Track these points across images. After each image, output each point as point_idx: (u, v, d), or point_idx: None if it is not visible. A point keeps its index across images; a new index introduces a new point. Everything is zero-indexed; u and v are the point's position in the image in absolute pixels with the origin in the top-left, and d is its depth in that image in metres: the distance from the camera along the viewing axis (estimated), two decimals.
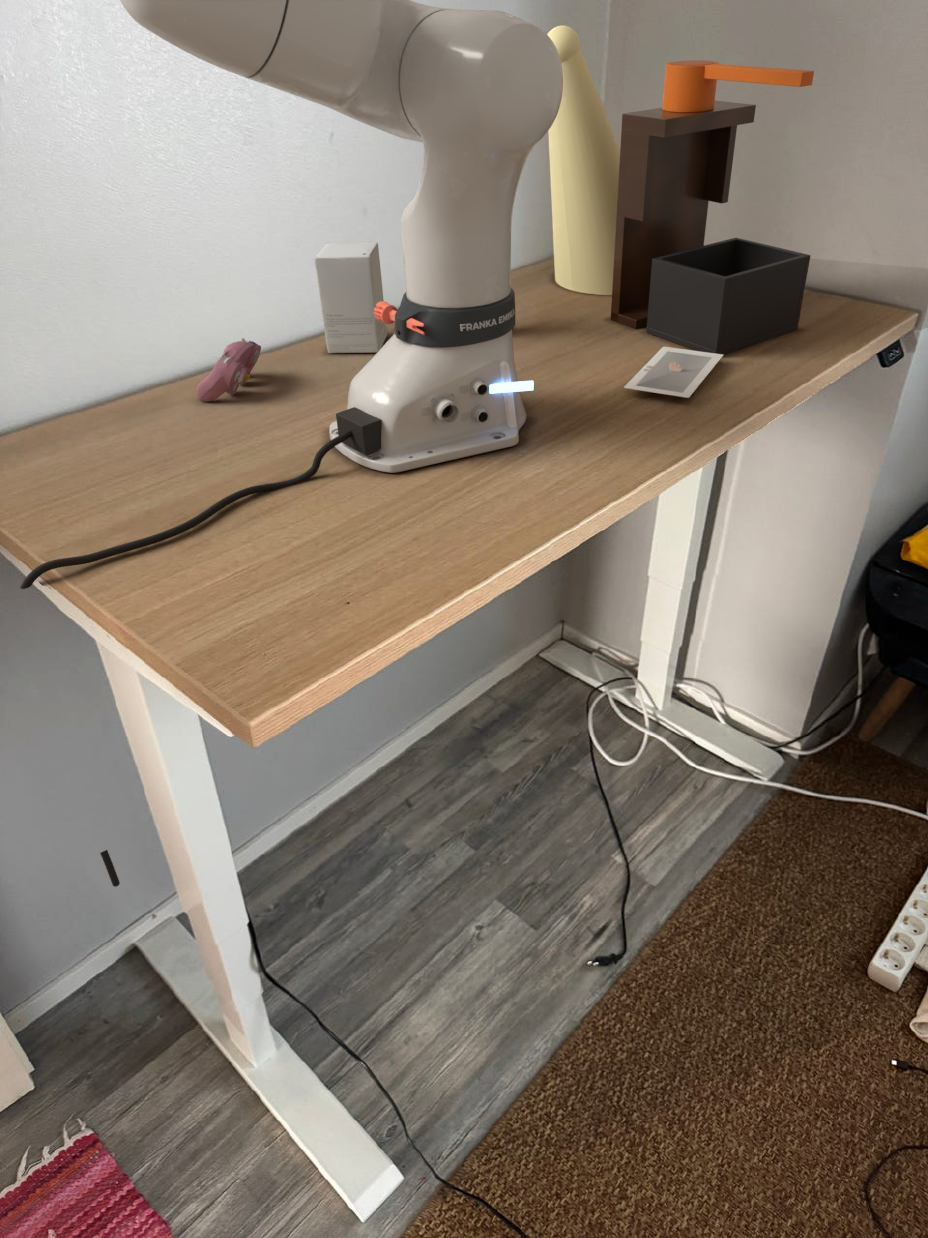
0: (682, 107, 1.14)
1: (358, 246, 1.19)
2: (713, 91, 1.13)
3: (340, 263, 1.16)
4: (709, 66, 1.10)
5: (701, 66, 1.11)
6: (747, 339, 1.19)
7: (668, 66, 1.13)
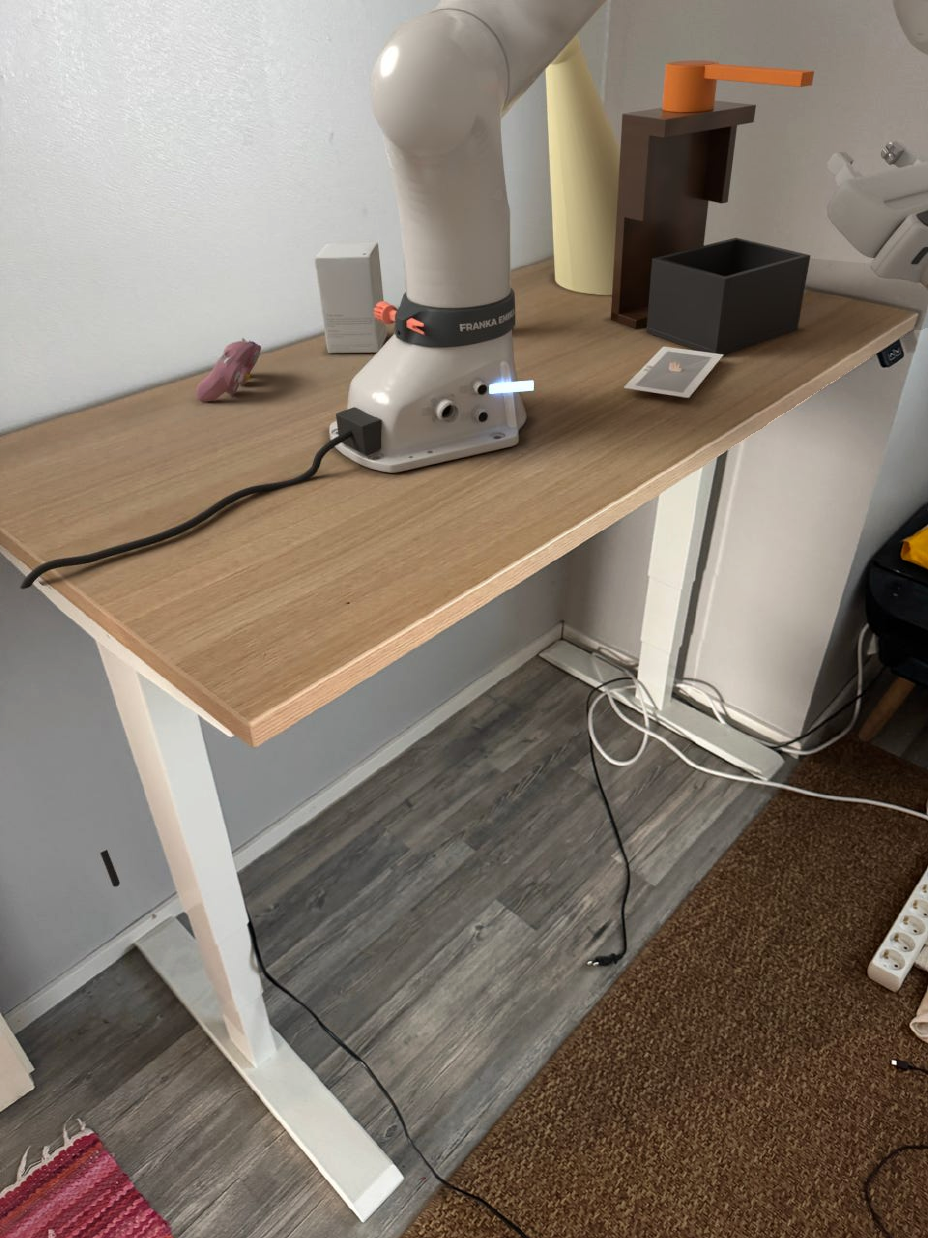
0: (682, 107, 1.14)
1: (358, 246, 1.19)
2: (713, 91, 1.13)
3: (340, 263, 1.16)
4: (709, 66, 1.10)
5: (701, 66, 1.11)
6: (747, 339, 1.19)
7: (668, 66, 1.13)
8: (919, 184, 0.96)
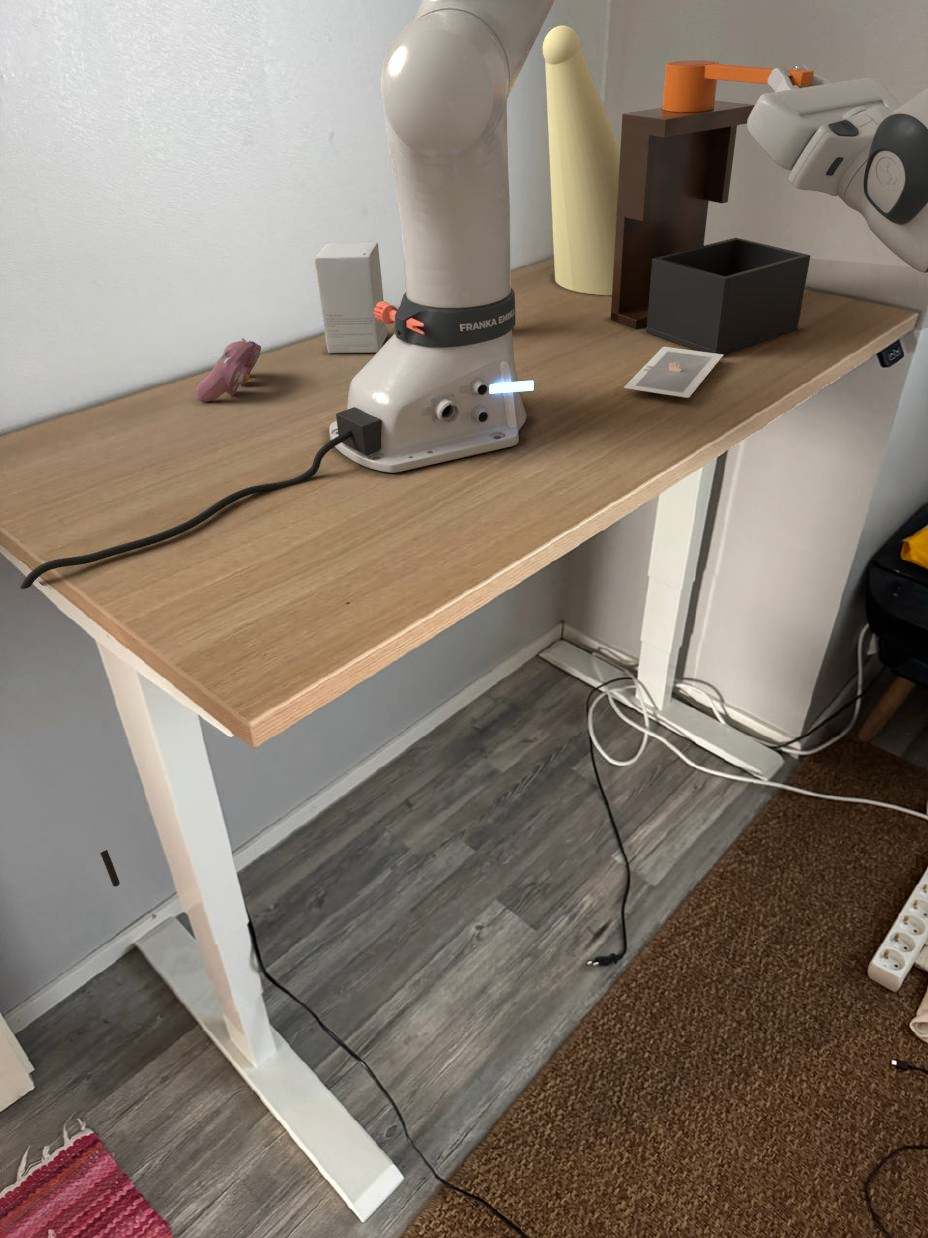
0: (682, 107, 1.14)
1: (358, 246, 1.19)
2: (713, 91, 1.13)
3: (340, 263, 1.16)
4: (709, 66, 1.10)
5: (701, 66, 1.11)
6: (747, 339, 1.19)
7: (668, 66, 1.13)
8: (836, 100, 1.00)
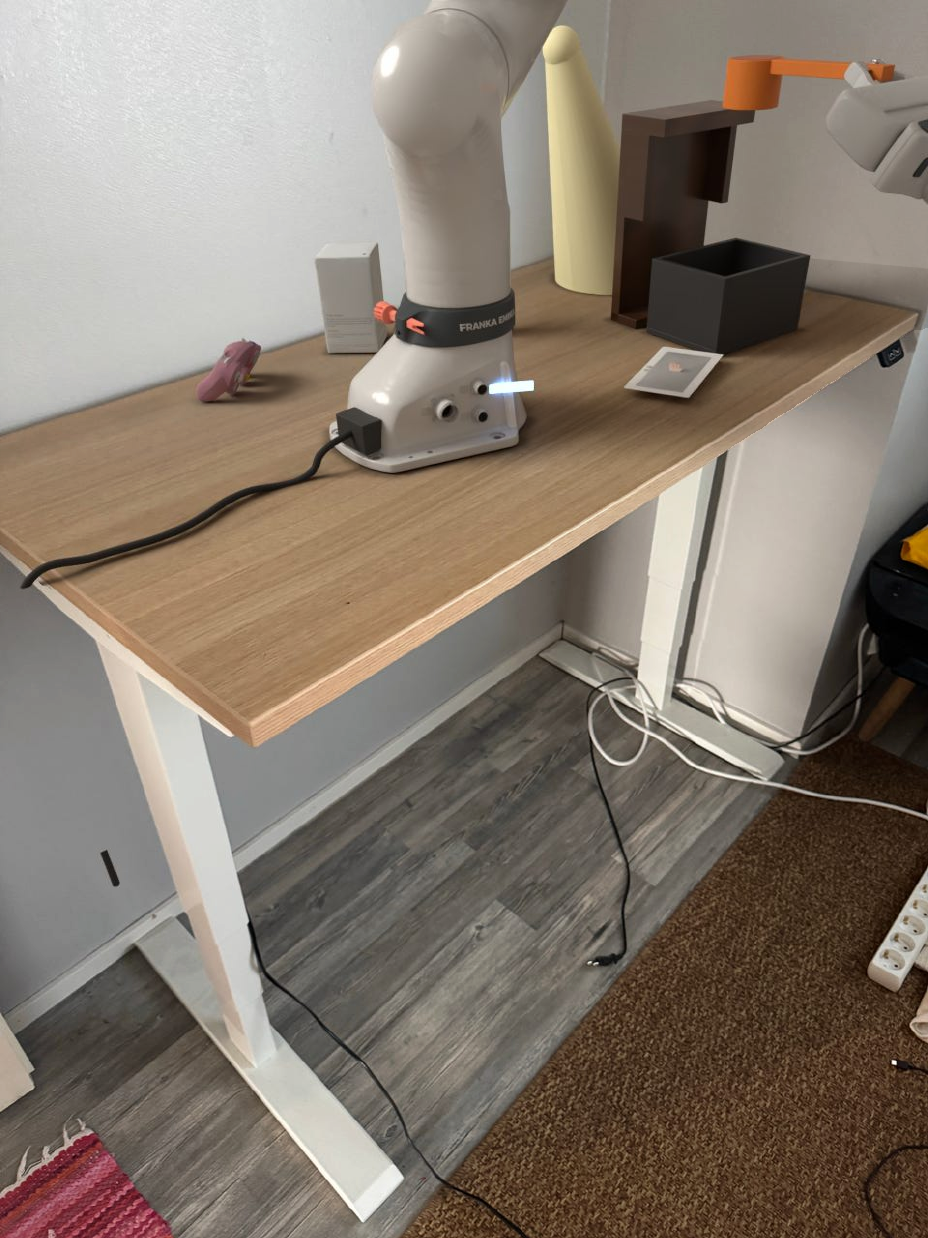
0: (746, 105, 1.06)
1: (358, 246, 1.19)
2: (778, 87, 1.06)
3: (340, 263, 1.16)
4: (776, 61, 1.03)
5: (767, 61, 1.03)
6: (747, 339, 1.19)
7: (731, 61, 1.05)
8: (921, 96, 0.93)
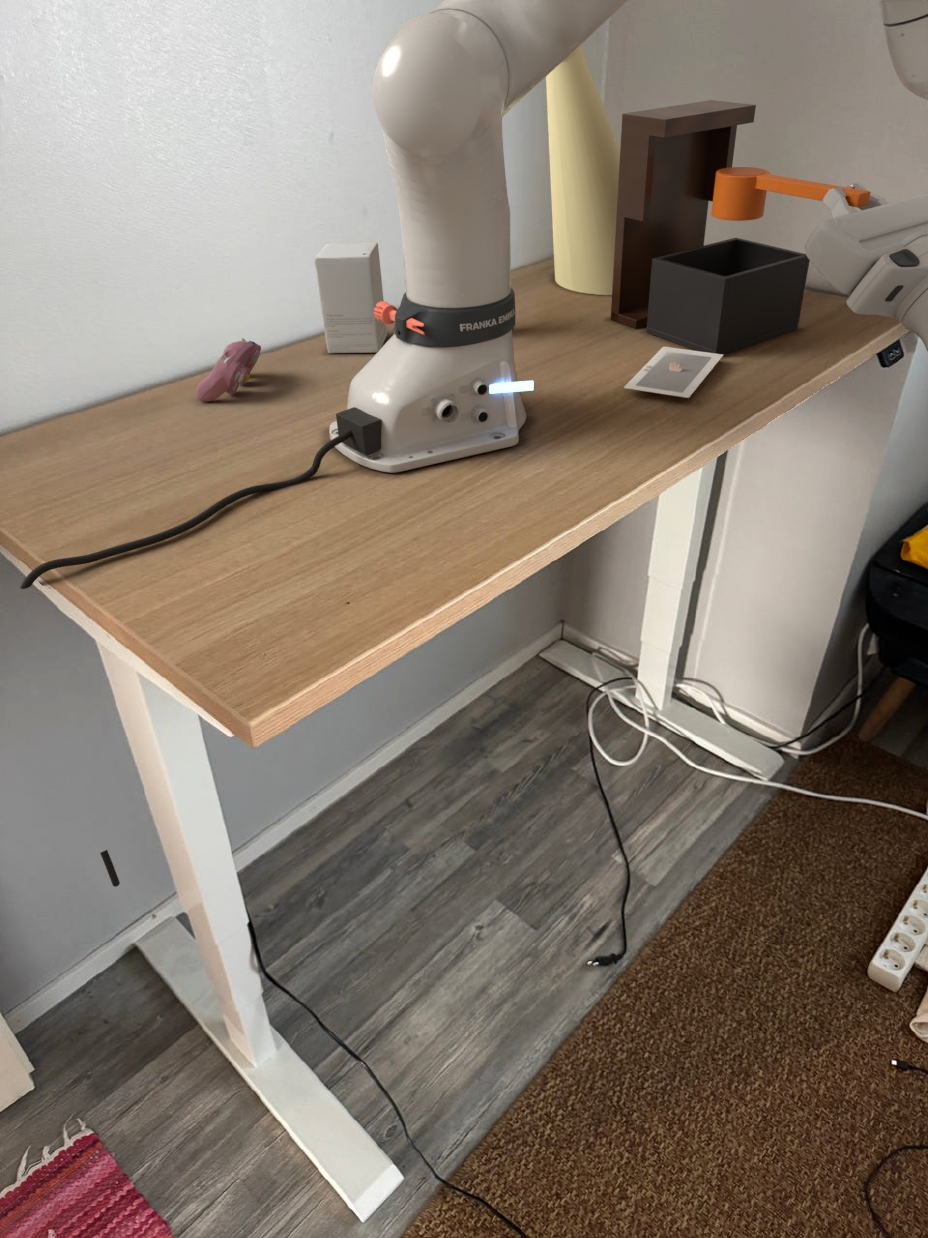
0: (732, 216, 1.13)
1: (358, 246, 1.19)
2: (763, 200, 1.13)
3: (340, 263, 1.16)
4: (761, 177, 1.10)
5: (753, 177, 1.10)
6: (747, 339, 1.19)
7: (719, 175, 1.12)
8: (894, 223, 1.00)
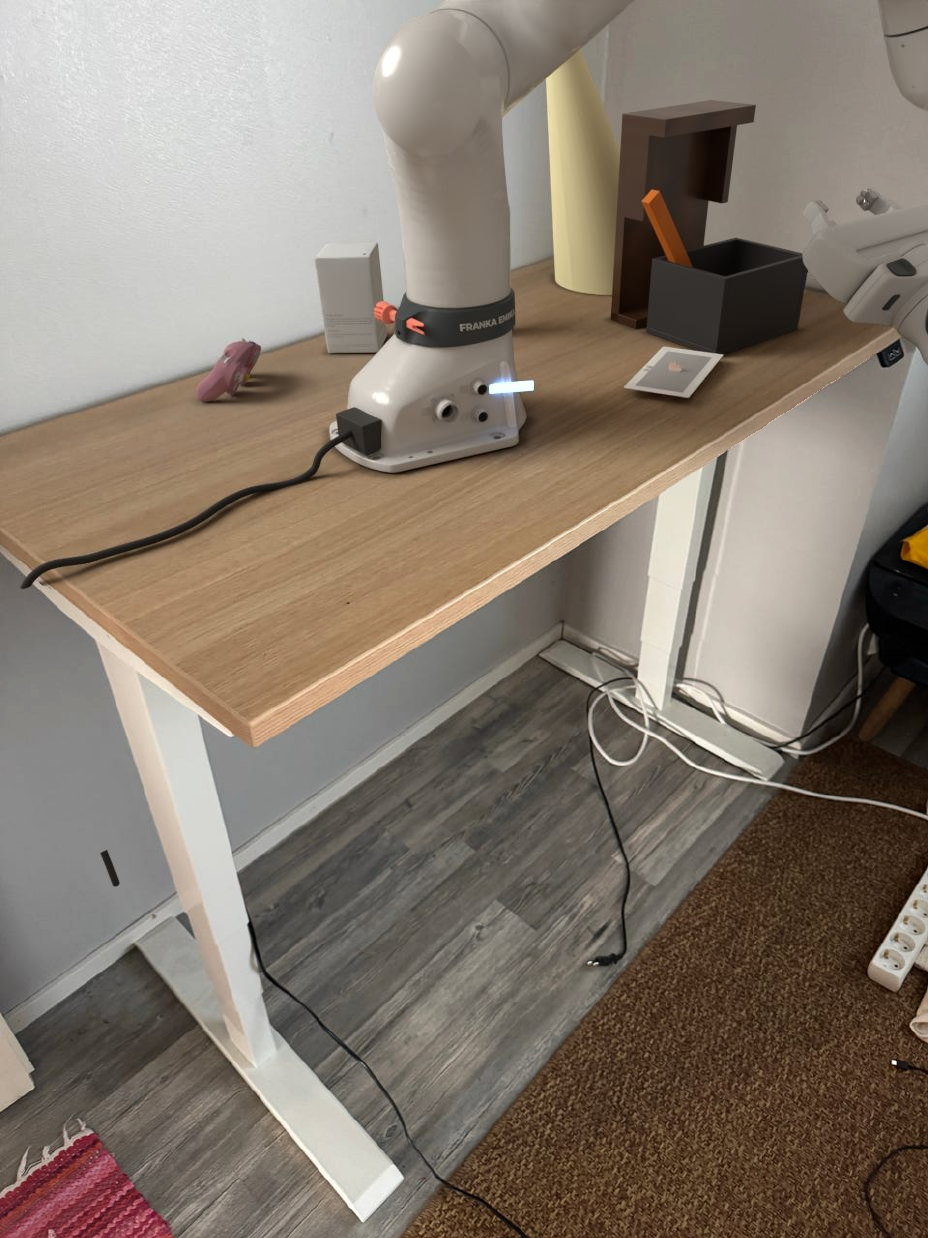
0: None
1: (358, 246, 1.19)
2: None
3: (340, 263, 1.16)
4: None
5: None
6: (747, 339, 1.19)
7: None
8: (891, 232, 1.00)
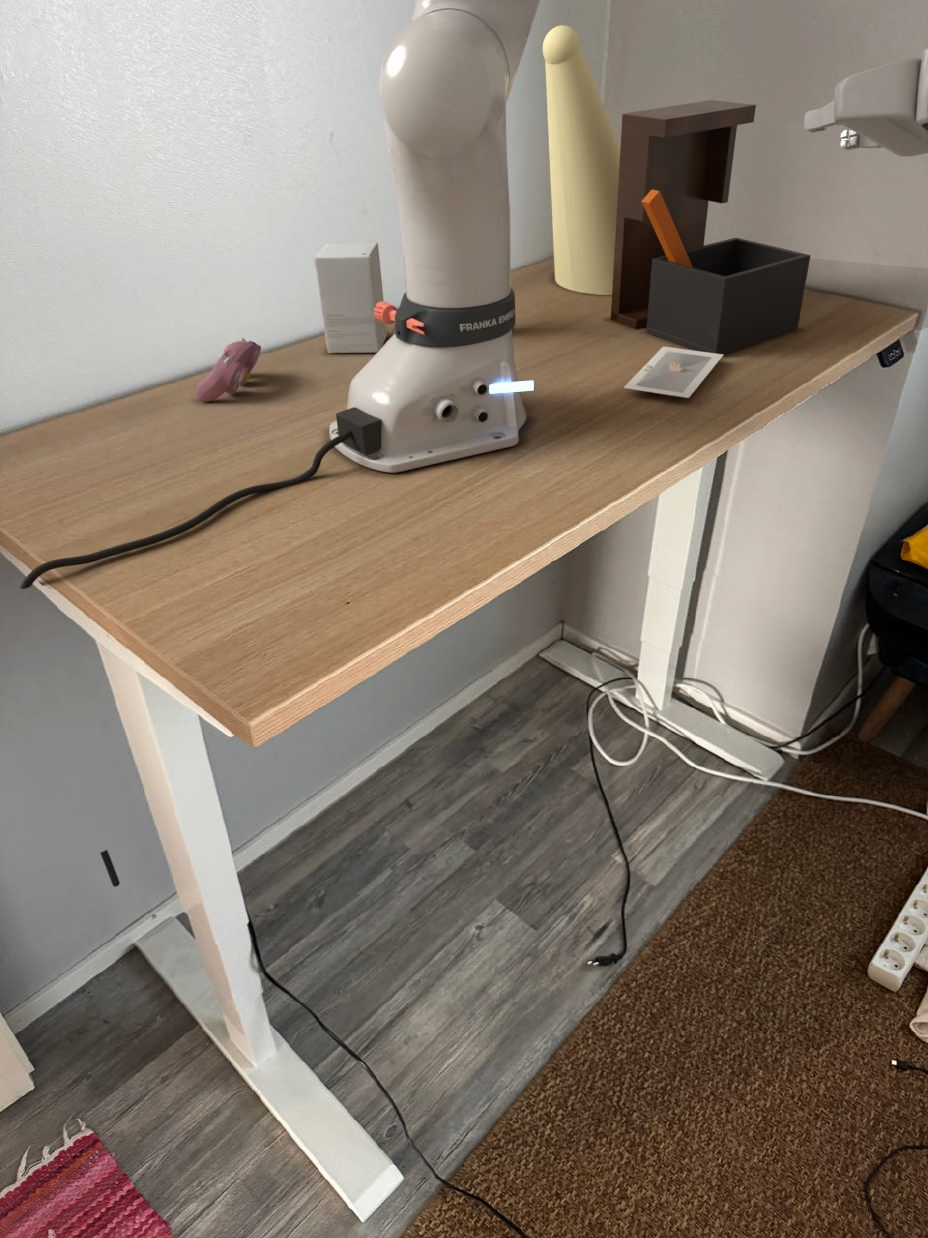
0: None
1: (358, 246, 1.19)
2: None
3: (340, 263, 1.16)
4: None
5: None
6: (747, 339, 1.19)
7: None
8: None
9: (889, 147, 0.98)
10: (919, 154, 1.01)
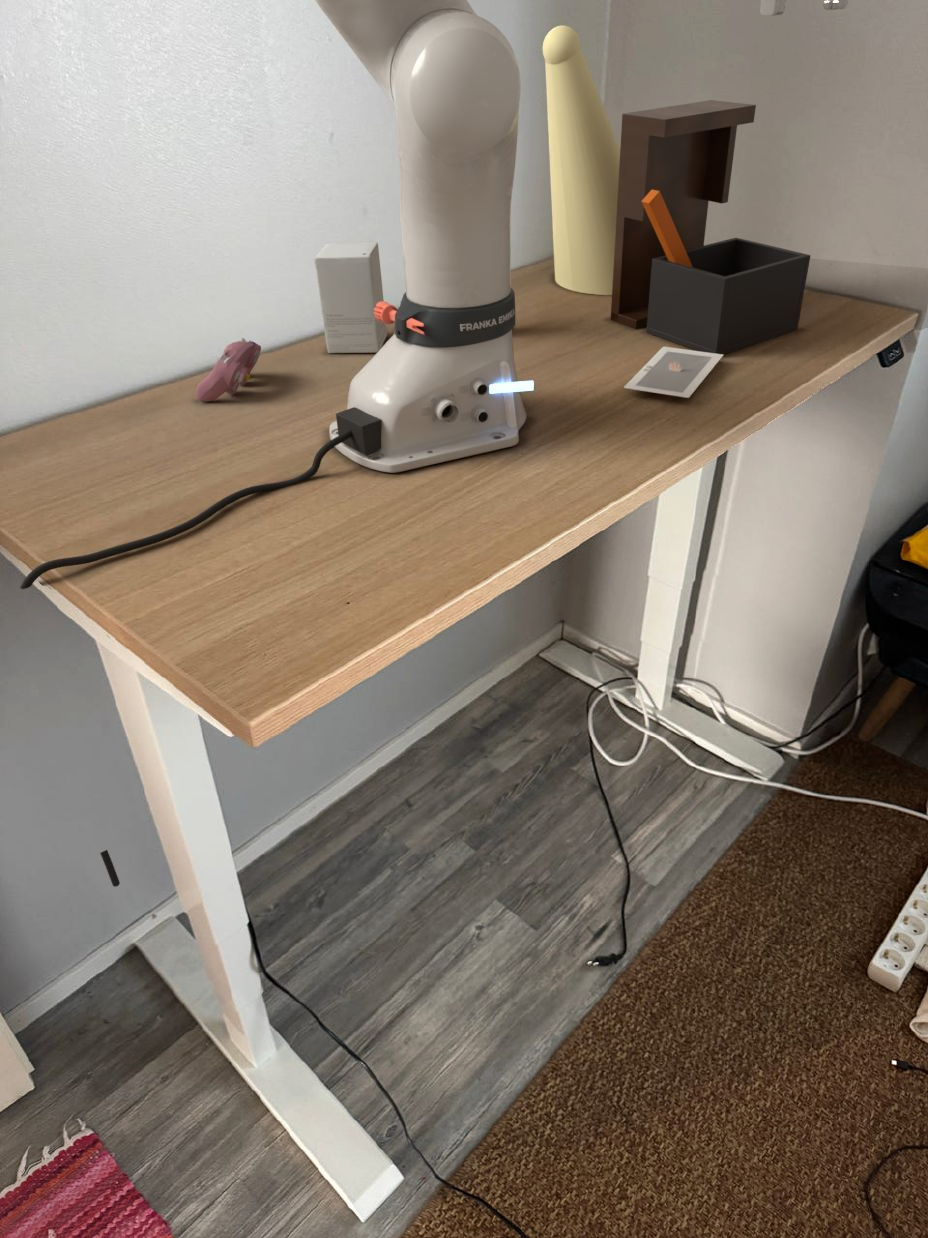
0: None
1: (358, 246, 1.19)
2: None
3: (340, 263, 1.16)
4: None
5: None
6: (747, 339, 1.19)
7: None
8: None
9: None
10: None
